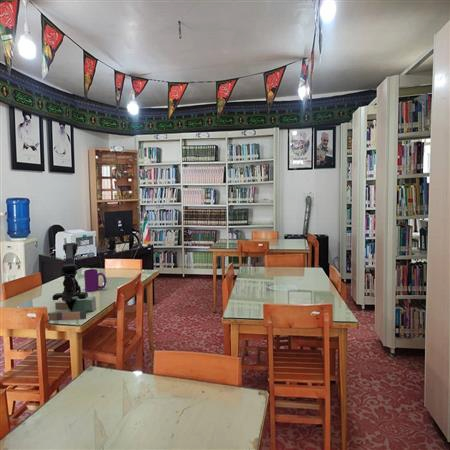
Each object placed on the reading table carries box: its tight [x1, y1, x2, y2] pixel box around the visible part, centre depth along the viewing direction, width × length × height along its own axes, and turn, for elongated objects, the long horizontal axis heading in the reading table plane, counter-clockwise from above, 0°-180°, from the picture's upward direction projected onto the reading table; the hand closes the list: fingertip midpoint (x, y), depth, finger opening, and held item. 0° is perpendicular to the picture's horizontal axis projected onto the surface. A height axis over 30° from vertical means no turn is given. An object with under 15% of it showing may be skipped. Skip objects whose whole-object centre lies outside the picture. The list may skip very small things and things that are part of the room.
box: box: [70, 296, 97, 313], centre depth 215 cm, size 7×14×8 cm, turn 94°
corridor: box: [47, 301, 87, 321], centre depth 210 cm, size 20×24×4 cm
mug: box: [83, 268, 107, 293], centre depth 259 cm, size 9×16×15 cm, turn 90°
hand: (71, 310), depth 209 cm, fingers closed
